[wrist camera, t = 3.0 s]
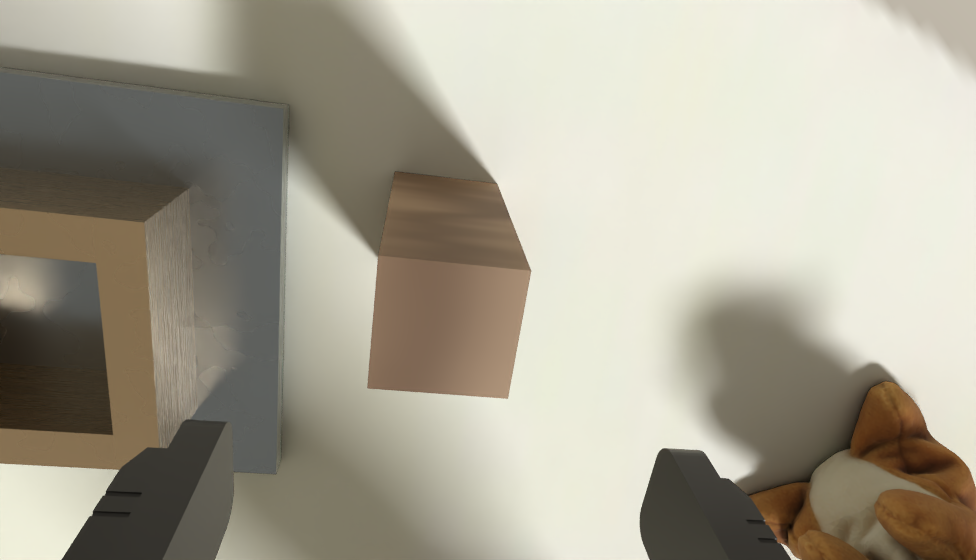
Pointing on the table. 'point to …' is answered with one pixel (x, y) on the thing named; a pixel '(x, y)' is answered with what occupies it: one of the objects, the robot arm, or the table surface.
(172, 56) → the table surface
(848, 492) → the stuffed squirrel
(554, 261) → the table surface
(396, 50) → the table surface
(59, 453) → the well stand
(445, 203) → the walnut bar
